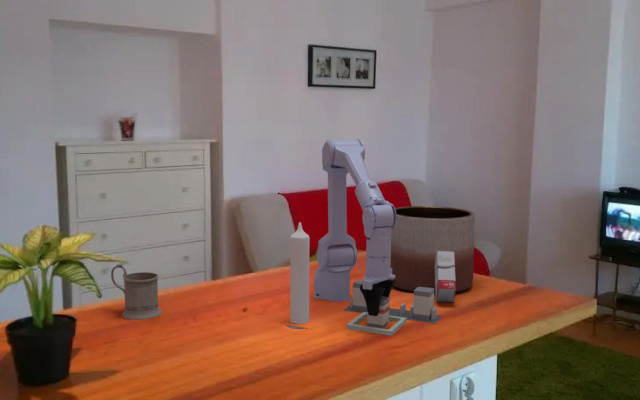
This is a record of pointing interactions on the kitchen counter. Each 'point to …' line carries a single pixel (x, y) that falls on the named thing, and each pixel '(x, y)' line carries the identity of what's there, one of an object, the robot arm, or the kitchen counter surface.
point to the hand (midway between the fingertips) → (377, 312)
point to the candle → (299, 278)
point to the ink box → (445, 276)
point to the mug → (139, 294)
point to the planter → (431, 245)
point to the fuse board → (402, 313)
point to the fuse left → (358, 297)
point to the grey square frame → (390, 332)
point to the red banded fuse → (380, 315)
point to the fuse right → (423, 303)
